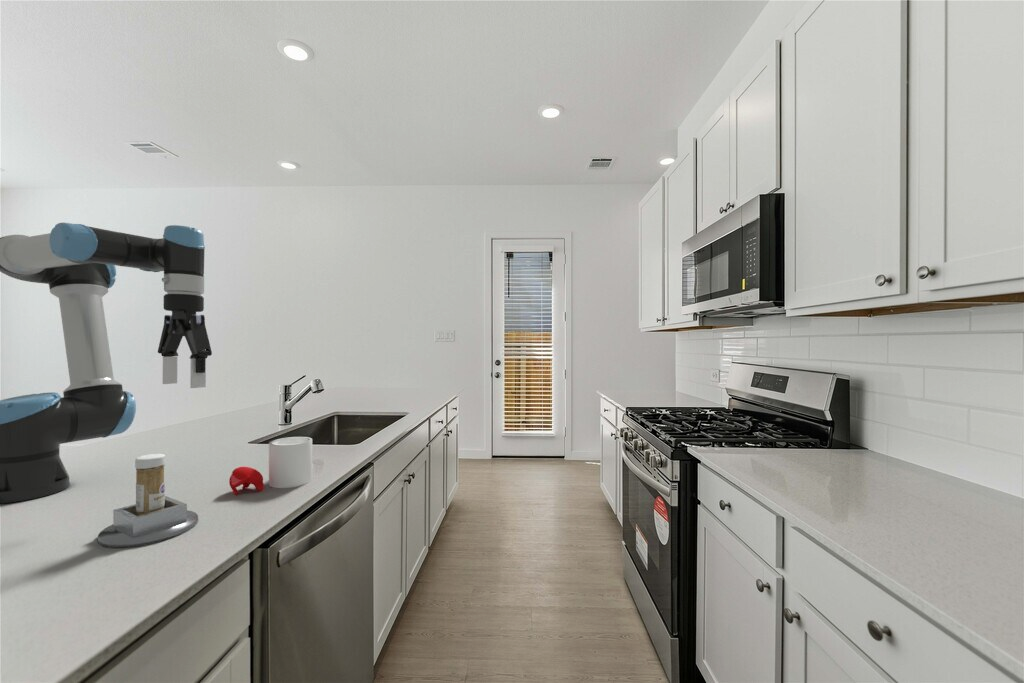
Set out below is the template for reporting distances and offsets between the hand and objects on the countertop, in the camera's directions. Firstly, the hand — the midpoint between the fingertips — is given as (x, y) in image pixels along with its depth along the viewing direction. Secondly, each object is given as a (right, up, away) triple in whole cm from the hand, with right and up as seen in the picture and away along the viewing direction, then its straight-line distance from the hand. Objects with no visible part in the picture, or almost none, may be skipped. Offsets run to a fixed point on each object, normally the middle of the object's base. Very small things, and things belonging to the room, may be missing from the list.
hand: (183, 385), depth 103 cm
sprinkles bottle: (+6, -26, -16) cm, 31 cm away
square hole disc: (+6, -27, -17) cm, 32 cm away
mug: (+18, -27, +14) cm, 35 cm away
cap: (+11, -27, +6) cm, 30 cm away
